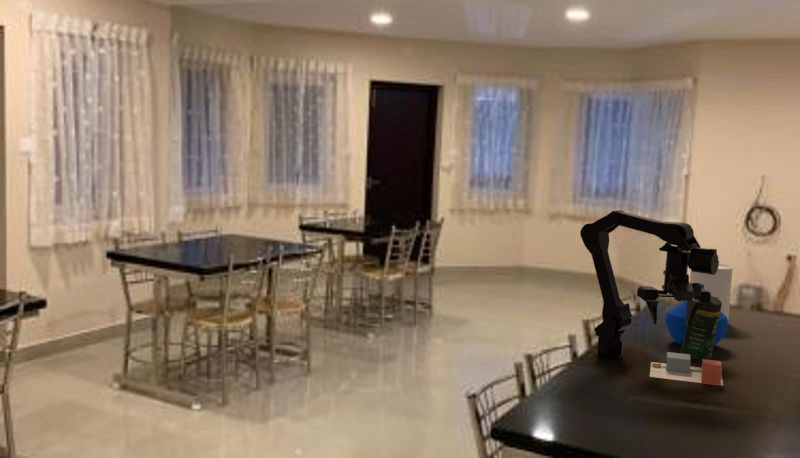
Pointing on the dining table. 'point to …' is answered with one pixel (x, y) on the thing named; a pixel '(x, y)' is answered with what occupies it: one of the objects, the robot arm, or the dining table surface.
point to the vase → (677, 325)
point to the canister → (717, 285)
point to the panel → (677, 373)
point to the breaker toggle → (678, 362)
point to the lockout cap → (711, 372)
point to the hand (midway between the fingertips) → (671, 324)
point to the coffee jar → (702, 331)
